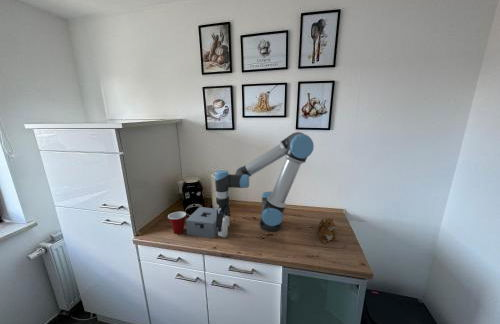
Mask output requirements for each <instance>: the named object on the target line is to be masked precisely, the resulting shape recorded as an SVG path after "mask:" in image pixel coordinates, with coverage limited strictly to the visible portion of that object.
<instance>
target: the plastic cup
mask: <svg viewBox="0 0 500 324" xmlns="http://www.w3.org/2000/svg"><path fill="white" fill-rule="evenodd" d="M186 216H187V213H186V211H174V212H172V213H169V214H168V215H167V219H168V220H169V221H170V225H171V228H172V231H173V233H174V235H181V234H182V233H183V232H184V230H185V229H184V228H185V223H186Z"/></svg>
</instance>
